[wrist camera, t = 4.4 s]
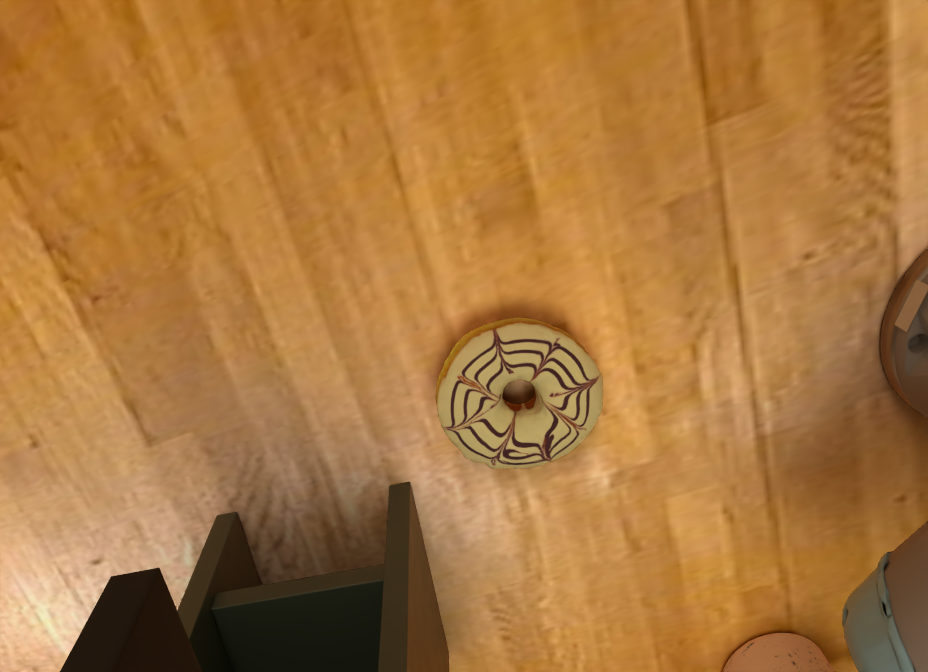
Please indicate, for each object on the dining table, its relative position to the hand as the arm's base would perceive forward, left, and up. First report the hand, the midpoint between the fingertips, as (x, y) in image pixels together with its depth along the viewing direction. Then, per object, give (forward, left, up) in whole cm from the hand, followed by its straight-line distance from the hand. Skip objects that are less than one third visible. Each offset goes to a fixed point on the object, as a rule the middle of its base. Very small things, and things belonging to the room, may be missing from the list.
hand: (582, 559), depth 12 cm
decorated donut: (+8, +12, -37) cm, 39 cm away
